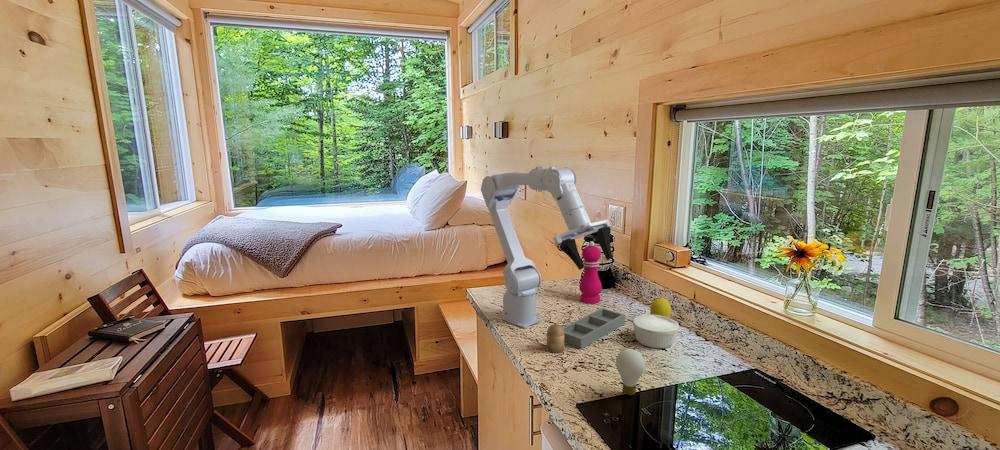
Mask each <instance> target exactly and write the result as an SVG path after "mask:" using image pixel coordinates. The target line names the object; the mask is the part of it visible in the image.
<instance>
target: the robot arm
mask: <svg viewBox="0 0 1000 450" xmlns="http://www.w3.org/2000/svg"><path fill="white" fill-rule="evenodd" d="M576 185H577V175H576V172H575V171H574V169H572V168H570V167H569V168H568V167H563V168H556V166H548V168H544V166H542V165H541V166H535V168H533V169H531V170H530V171H529V172H517V171H516V172H515V171H514V172H504V173H498V174H497V173H496V174H492V175H489V176H488V175H486V176H484V178H483V179H482V182H481V186H480V192H481V194H482V198H483V200H484V203H485V206H486V207H487V208H488V209H487V210H488V212H489V215H490V218H491V220H492V223H493V226H494V229H495V232H496V235H497V238H498V240H499V243H500V245H501V248H502V250H503V251H502V252H503V254H504V256H505V259H506V262H507V264H506V265H505V267H504V269H502V274H503V279H504V286H505V289H506V291H504V293H503V297H502V307H503V308H502V309H503V310H502V311H503V312H502V313H503V315H502V317H501V320H503V321H506V322H507V323H510V324H513V325H515V326H518V327H521V328H523V329H525V328H528V327H531V326H533V325H535V324H537V323H539V322H541V321H542V320H543V318H542V317H539V316H537V313H536V311H537V308H536V306H537V305H536V302H537V301H536V298H537V297H536V294H537V293H536V292H538V288H540V286H541V284H542V280H543V279H542V275H541V272H540V271H539V269H538V267H536V265H535V262H534V261H533V260H531V259H529V258H528V257H526V256H525V254H524V251H523V250H524V249H523V248H522V246H521V242H520V241H519V237H518V235H517V232H516V229H515V227H514V226H515V225H514V224H513V221H512V218H511V216H510V213H509V210H508V207H509V206H510V205H512V202H513V200H514V198H515V196H516V195H517V192H518V190H519V189H520V187H521V186H528V187H529V188H530V189H531V190H533V191H543V192H545V191H546V192H548V193H549V194H551V196H552V199H554V200H555V202H556V203H557V206H558V208H559V211H560V214H561V216H562V217H563V220H564V223H565V225H566V227H567V229H568V231H566V232H563V233H561V234H558V235H555V236H554V237H553V238H552V239H553V241H554V244H555V246H559V249H560V251H562V252H563V253H564V254H565V255H566V256H568V257H569V258H570V260H571V261H572V262H573V264H575V265H576V267H577V269H578V270H579V271H580V270H584V269H585V266H584V264H583V263H584V262H583V258H581V256H580V253H579V249H578V245H577V243H576V239H579V238H582V237H583V238H584V237H585V236H588V235H589V236H590V235H591V234H596V235H595V236H594V239H595V240H596V241H597V243H598V246H600V249H601V251H602V252H603V256H604V257H605V259H606V260H607V261H609V260H611V259H613V258H614V257H613V252H612V246H611V233H612V232H611V231H612V229H611V227H612V224H611V222H610V220H609V219H603V220H600V221H595V222H592V221H591V219H590V217H589V215H588V212H587V210H586V207H585V205H584V203H583V201H582V199H581V197H580V194H579V192H578V189H577V187H576Z"/></svg>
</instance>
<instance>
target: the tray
mask: <svg viewBox="0 0 1000 450" xmlns="http://www.w3.org/2000/svg"><path fill="white" fill-rule="evenodd" d="M625 324H626V314H624V313H621V312H617V311H615V310H610V309H608V308H604V307H602V308H600V309H599V308H598V309H597V310H596V311H594V312H591V313H589V314H588V315H586V316H583V317H581V318H579V319H577V320H576V321H573V322H571V323H569V324H566V325H564V326H563V327H562V328H563V329H564V344H566V345H569V346H572V347H574V348H577V349H580V350H583V349H584V348H586V347H588V346H589V345H591V344H593V343H594V342H596V341H598V340H599V339H601V338H604V337H605V336H606V335H608V334H611V332H614V331H616V330H617V329H619V328H620V327H622V326H624V325H625Z"/></svg>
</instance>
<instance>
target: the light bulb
mask: <svg viewBox="0 0 1000 450" xmlns="http://www.w3.org/2000/svg"><path fill="white" fill-rule="evenodd" d="M615 367H616V370H617V372H618V374H619V375H620V377H621V381H622V392H623V393H624V394H626V395H627V396H632V395H635V394H636V393H637V385H638V382H639V379H640V378H641V376H642V375H643V374H644V373H645V369H646V361H645V358H644V356H643V355H642V353H640V352H639V351H637V350H636V349H632V348H627V349H624V350H622V351H620V352H619V353H618V354H617V356H616V359H615Z"/></svg>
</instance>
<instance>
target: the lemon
mask: <svg viewBox="0 0 1000 450" xmlns="http://www.w3.org/2000/svg"><path fill="white" fill-rule="evenodd" d="M649 313H650V315H660V316H664V317H667V318H670V319H671V315H672V307H671V304H670V302H669V301H668V300H667V299H665V298H664V297H663V296H662V297H661V296H660V297H658V298H655V299H654V300H653V301H652V302H651V306H650V311H649Z"/></svg>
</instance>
